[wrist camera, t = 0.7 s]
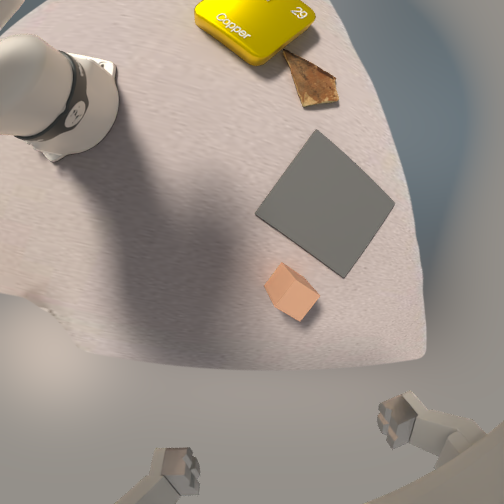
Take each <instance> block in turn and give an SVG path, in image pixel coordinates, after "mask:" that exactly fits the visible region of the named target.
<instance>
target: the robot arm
mask: <svg viewBox="0 0 504 504" xmlns="http://www.w3.org/2000/svg"><path fill="white" fill-rule="evenodd" d="M24 1H25V0H0V30H1V29H2V27H3V26H4V25H5V24H6V23H7V22H8V20H9V19H10V18H11V17H12V16H13V15H14V13H15V12H16V11H17V10H18V9H19V8H20V6H21V4H23V2H24ZM102 66H104V67H102ZM115 73H116V66H115V64H114V63H112V62H110V61H106V60H102V59H98V58H93V57H88V56H83V55H78V54H73V53H67V52H63V51H59V50H56V49H55V48H53V47H52V46H51V45H49V44H48V43H47V42H45V41H44V40H43V39H41V38H40V37H38V36H36V35H33V34H19V35H14V36H10V37H7V38H5V39H3V40H1V41H0V135H14V136H15V137H17V138H19V139H22V140H24V141H25V142H26V143H27V144H29V145H30V144H31V145H32V146H33V149H34V150H36V151H40V152H42V153H43V154H44V155H45V156H46V158H47V159H48V160H49V161H52V162H56V161H58V160H60V159H61V158H63V157H64V156H66V155H68V154H74V153H80V152H83V151H86V150H88V149H90V148H92V147H93V146H95V145H96V144H97V143H99V142H100V141H101V140H102V139H103V138H104V137H105V135H106V134H107V133H108V131H109V130H110V128H111V127H112V125H113V123H114V121H115V118H116V115H117V112H118V106H119V96H118V91H117V88H116V85H115V80H114V79H115ZM379 411H380V413H379V415H378V417H377V422H378V427H379V429H380V431H381V433H382V434H385V435H387V439H386V440H387V442H388V444H389V445H390V447H391V448H392V450H393V449H395V448H397V447H400V446H402V445H404V444H406V443H408V442H409V443H410V444H412V445H414V446H416V447H418V448H421V449H423V450H425V451H427V452H430V453H432V454H434V455H436V456H439V458H438V460H437V462H436V464H435V466H434V468H435V470H434V471H432V472H430V473H428V474H427V475H425V476H423V477H421V478H419V479H417V480H416V481H414V482H411V483H410V484H408V485H406V486H403V487H401V488H399V489H398V490H395V491H393V492H391V493H388V494H386V495H384V496H381V497H379V498H376V499H374V500H372V501H369V502H367V503H364V504H504V421H503V422H502V423H501V424H499V425H498V426H497V427H496V428H494V429H493V430H492V431H491V432H489V433H488V434H486V433H485V432H484V431H483V430H482V429H481V428H480V427H479V426H478V425H477V424H476V423H475V422H474V420H472V419H468V418H464V417H460V416H455V415H451V414H447V413H443V412H440V411H436V410H432V409H431V410H428V409H427V408H426V407H425V406H424V405H423V404H422V402H421V401H420V400H419V399H418V398H417V397H416V396H415V394H414V393H412V391H407V392H405V393H403V394H401V395H398V396H396V397H393V398H391V399H389V400H386V401H384V402H382V403H380V404H379ZM192 454H193V452H192V450H191V448H190V447H187V448H156V449H155V450H154V454H153V458H152V462H151V468H150V472H149V476H145V477H144V478H143V479H141V480H140V481H139V482H138V483H137V484H136V485H135V486H134V487H133V488H132V489H130V490H129V491H128V492H127V493H126V494H125V495H124V496H123V497H121V498H120V499H119V500H118V501H117V502H115V503H114V504H176V502H177V501H178V500H179V498H180V496H191V495H199V489H200V483H199V482H198V480H197V479H198V477H199V476H200V466H199V463H198V460H197V458H196V457H194V456H192Z"/></svg>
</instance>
